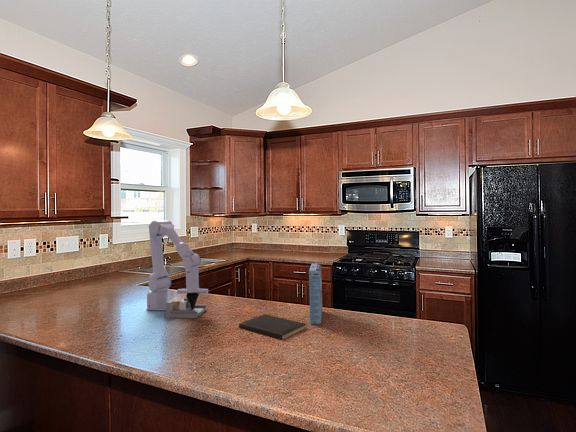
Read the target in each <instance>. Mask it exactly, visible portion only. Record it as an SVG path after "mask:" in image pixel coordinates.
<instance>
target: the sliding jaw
mask: <svg viewBox="0 0 576 432" xmlns="http://www.w3.org/2000/svg"><path fill="white" fill-rule="evenodd" d="M183 299H184V300H182V301H181V302H180V311H189V310H190V309H191V306H190V303H189V301H188V299H187V297H186V296H185V297H183Z"/></svg>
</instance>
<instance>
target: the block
mask: <svg viewBox="0 0 576 432" xmlns="http://www.w3.org/2000/svg"><path fill="white" fill-rule="evenodd" d="M182 300H184V298H179V299H176V300H174V301H173V311H180V302H181V301H182Z"/></svg>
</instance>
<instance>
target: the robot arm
mask: <svg viewBox="0 0 576 432" xmlns="http://www.w3.org/2000/svg"><path fill="white" fill-rule="evenodd" d="M148 232H149V245H150V253H151V254H150V255H151V263H152V273H151V274H150V275H149V276H148V279H149V280H148V289H149V291H148V292H147V295H146V311H166V302H168V301H169V290H170V287H171V285H172V280H171V277H170V273H169V272H167V271H166V269H165V260H164V251H163V250H164V249H163V242H162V239H163V238H164V237H167V238H168V239H169V240H170V241H171V242H172V243H173V245H175V250H176V252H177V253H178V255H179V256H180V258H181V259H182V260H183V261H182V264H183V266H184V270H185V285H186V286H185V288H178V289H177V290H176V294H177V295H178V294H179V295H180V294H186V295H185V297H187V299H188V301H189V303H190V306H191V309H194V308H195V305H197V304H196V303H197V300H198V298H199V296H200V294H202V295H208V294H209V288H201V287H200V285H199V284H200V283H199V282H200V281H199V274H200V273H199V266H200V265H201V262H202V259H201V257H200V255H199V254H198V253H195V252H193V250H192V249H191V247H190V246H189V244H188V243H187V242H183V241H182V240H181V238H180V236H179V235H178V232H176V230H175V225H174V224H173V221H171V220H169V219H166V220H153V221H151V222H150V224H149V225H148Z"/></svg>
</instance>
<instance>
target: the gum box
mask: <svg viewBox="0 0 576 432" xmlns="http://www.w3.org/2000/svg"><path fill="white" fill-rule="evenodd" d="M322 277H323V276H322V263H311V265H310V268H309V270H308V285H309V287H308V288H309V291H308V292H309V324H310V325H321V324H322V318H323V317H322V316H323V287H322V286H323V283H322V281H323V280H322Z"/></svg>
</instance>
